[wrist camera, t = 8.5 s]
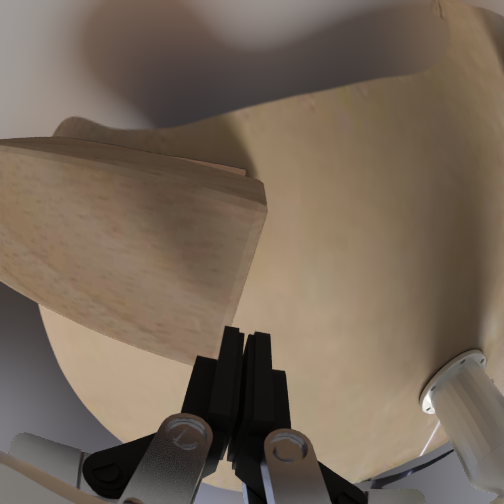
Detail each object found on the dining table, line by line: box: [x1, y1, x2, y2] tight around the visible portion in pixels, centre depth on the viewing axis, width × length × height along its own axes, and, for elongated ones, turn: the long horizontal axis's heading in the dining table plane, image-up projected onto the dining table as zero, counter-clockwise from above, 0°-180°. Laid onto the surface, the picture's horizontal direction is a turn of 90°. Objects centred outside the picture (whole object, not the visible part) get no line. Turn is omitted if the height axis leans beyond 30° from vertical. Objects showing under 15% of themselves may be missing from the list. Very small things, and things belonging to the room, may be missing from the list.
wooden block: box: [0, 137, 268, 366], centre depth 17 cm, size 10×10×20 cm
